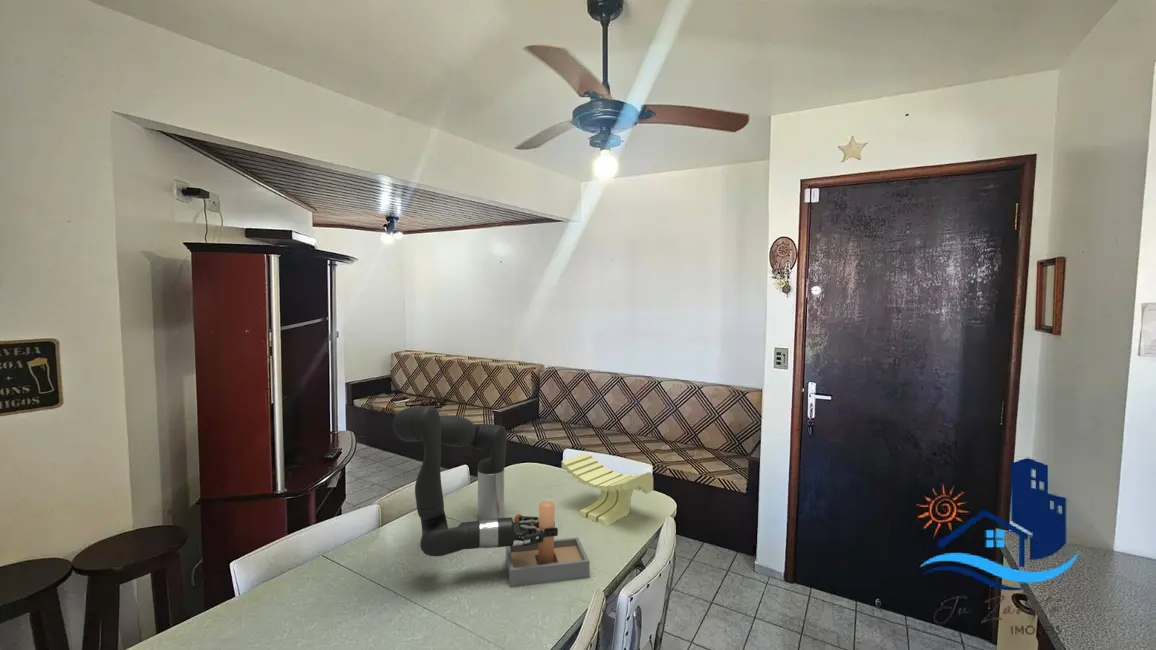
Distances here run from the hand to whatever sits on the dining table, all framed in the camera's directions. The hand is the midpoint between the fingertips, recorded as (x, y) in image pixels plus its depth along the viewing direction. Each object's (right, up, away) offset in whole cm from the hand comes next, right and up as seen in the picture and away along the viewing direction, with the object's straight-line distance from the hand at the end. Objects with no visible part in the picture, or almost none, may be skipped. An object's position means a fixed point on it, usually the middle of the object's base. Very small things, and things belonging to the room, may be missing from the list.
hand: (555, 527), depth 137 cm
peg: (-3, -9, 0) cm, 9 cm away
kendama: (-9, -11, +20) cm, 24 cm away
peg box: (-3, -12, 0) cm, 12 cm away
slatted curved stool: (+17, -11, +37) cm, 42 cm away
